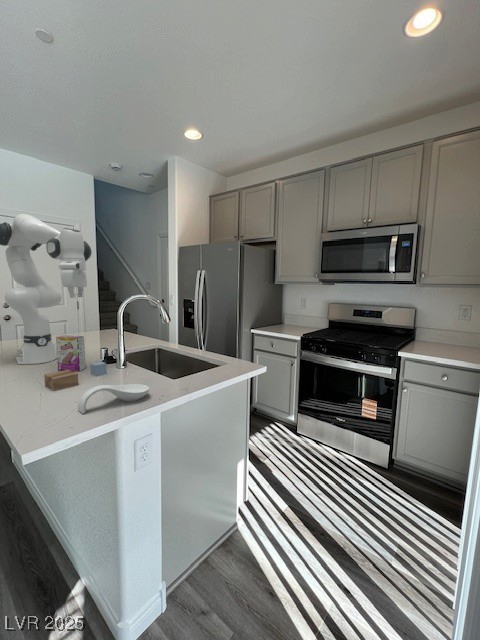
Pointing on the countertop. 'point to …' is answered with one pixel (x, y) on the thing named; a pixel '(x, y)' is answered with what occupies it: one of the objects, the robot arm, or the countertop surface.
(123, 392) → the spoon rest
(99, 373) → the slate blue cube
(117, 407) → the countertop surface
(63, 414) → the countertop surface
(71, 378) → the walnut block
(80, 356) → the candy bar box
